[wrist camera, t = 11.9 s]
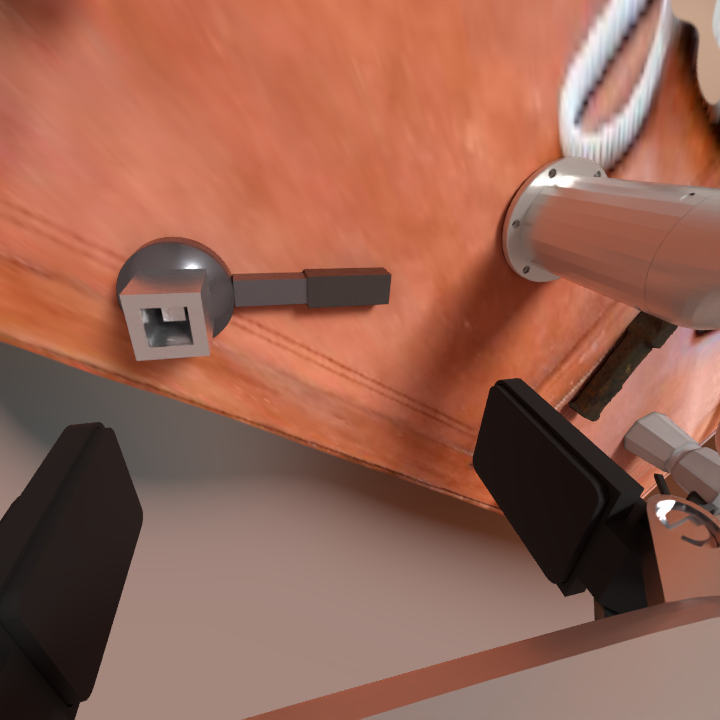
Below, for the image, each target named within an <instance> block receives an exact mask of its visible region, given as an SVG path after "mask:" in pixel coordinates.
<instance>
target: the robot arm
mask: <svg viewBox="0 0 720 720" xmlns="http://www.w3.org/2000/svg"><path fill="white" fill-rule="evenodd" d="M502 243H503V251H504V255H505V258H506V260H507V262H508V264H509V266H510V267H511V268H512V270H513V271H514V272H515V273H517V274H518V275H520V276H521V277H523V278H525V279H528V280H530V281H534V282H549V281H553V280H557V279H559V278H564V279H566V280H569V281H571V282H573V283H576V284H578V285H580V286H583V287H585V288H588V289H590V290H592V291H595V292H597V293H600V294H602V295H604V296H607V297H609V298H611V299H614V300H616V301H619V302H621V303H623V304H626V305H628V306H631V307H633V308H635V309H638V310H640V311H642V312H645V313H647V314H650V315H652V316H655V317H657V318H659V319H662V320H664V321H667V322H669V323H672V324H674V325H677V326H680V327H685V328H690V329H699V330H712V329H720V189H718V188H708V187H697V186H687V185H676V184H666V183H655V182H645V181H635V180H624V179H614V178H608V177H607V175H606V174H605V172H604V170H603V169H602V168H601V167H600V166H599V165H598V164H597V163H595V162H593V161H592V160H590V159H586V158H581V157H566V158H560V159H557V160H554V161H552V162H550V163H547V164H546V165H544V166H543V167H541V168H540V169H538V170H537V171H536V172H535V173H534V174H532V175H531V176H530V177H529V178H528V179H527V180H526V182H525V183H524V184H523V185H522V186H521V188H520V189H519V190H518V192H517V194H516V195H515V197H514V199H513V200H512V202H511V205H510V207H509V209H508V212H507V214H506V218H505V222H504V225H503V234H502ZM715 443H716V448H717V451H718V454H719V456H720V422H719V424H718V427H717V430H716V436H715ZM473 466H474V469H475V471H476V473H477V474H478V476H479V477H480V479H481V480H482V482H483V483H484V485H485V486H486V488H487V489H488V491H489V492H490V494H491V495H492V497H493V498H494V500H495V501H496V503H497V504H498V506H499V507H500V509H501V510H502V512H503V513H504V515H505V516H506V517H507V519H508V520H509V522H510V523H511V525H512V526H513V528H514V529H515V531H516V532H517V534H518V535H519V537H520V538H521V540H522V541H523V543H524V544H525V546H526V547H527V549H528V550H529V552H530V553H531V555H532V556H533V558H534V559H535V561H536V562H537V564H538V565H539V567H540V568H541V570H542V571H543V573H544V574H545V576H546V577H547V578H548V580H550V581H551V582H552V583H554V584H557V586H558V587H559V589H560V590H561V592H562V593H563V595H564V596H565V597H566V596H570V595H573V594H578V593H582V592H584V591H585V590H586V588H587V589H588V590H589V592H590V593H591V594H592V596H593V597H594V616H595V621H592V622H588V623H584V624H581V625H577V626H573V627H570V628H566V629H563V630H559V631H555V632H552V633H548V634H544V635H541V636H537V637H533V638H530V639H526V640H522V641H519V642H515V643H511V644H508V645H504V646H501V647H497V648H493V649H490V650H486V651H483V652H479V653H475V654H472V655H468V656H465V657H461V658H458V659H454V660H451V661H447V662H443V663H440V664H436V665H433V666H430V667H426V668H422V669H418V670H415V671H411V672H408V673H404V674H401V675H397V676H394V677H390V678H386V679H383V680H380V681H376V682H373V683H369V684H365V685H362V686H358V687H355V688H351V689H347V690H344V691H340V692H337V693H333V694H330V695H326V696H323V697H319V698H316V699H312V700H309V701H305V702H302V703H298V704H295V705H291V706H288V707H284V708H281V709H278V710H274V711H271V712H267V713H264V714H260V715H257V716H253V717H249V718H246V719H243V720H720V520H719V519H718V518H716V517H715V516H714V515H712V514H711V513H710V512H708V511H707V510H705V509H704V508H702V507H700V506H698V505H697V504H695V503H693V502H690V501H688V500H685V499H683V498H680V497H676V496H672V495H655V496H652V497H650V499H649V500H648V501H647V502H645V501H644V500H643V499H642V498H641V497H640V495H641V494H642V492H643V490H644V488H643V487H642V486H641V485H640V484H639V483H637V482H636V481H635V480H634V479H633V478H632V477H631V476H630V475H628V474H627V473H626V472H625V471H624V470H623V469H622V468H621V467H619V466H618V465H617V464H616V463H615V462H614V461H613V460H612V459H610V458H609V457H608V456H607V455H606V454H605V453H604V452H603V451H601V450H600V449H599V448H598V447H597V446H596V445H595V444H594V443H592V442H591V441H590V440H589V439H588V438H587V437H586V436H585V435H583V434H582V433H581V432H580V431H579V430H578V429H577V428H576V427H574V426H573V425H572V424H571V423H570V422H569V421H568V420H567V419H565V418H564V417H563V416H562V415H561V414H560V413H559V412H558V411H556V410H555V409H554V408H553V407H552V406H551V405H550V404H549V403H547V402H546V401H545V400H544V399H543V398H542V397H541V396H540V395H538V394H537V393H536V392H535V391H534V390H533V389H532V388H531V387H529V386H528V385H527V384H526V383H525V382H524V381H523V380H521V379H519V378H514V379H505V380H499V381H497V382H496V383H495V385H494V386H492V387H491V388H490V391H489V395H488V399H487V403H486V407H485V411H484V415H483V419H482V423H481V427H480V431H479V435H478V439H477V443H476V447H475V451H474V455H473ZM142 522H143V512H142V507H141V505H140V502H139V499H138V496H137V494H136V491H135V488H134V485H133V483H132V480H131V477H130V474H129V471H128V469H127V466H126V463H125V460H124V458H123V455H122V452H121V449H120V447H119V444H118V441H117V438H116V435H115V433H114V431H113V429H112V428H105V427H104V425H103V424H102V423H100V422H95V423H85V424H77V425H70V426H68V427H66V428H65V429H64V431H63V432H62V434H61V435H60V437H59V438H58V440H57V441H56V443H55V444H54V446H53V447H52V449H51V450H50V452H49V453H48V455H47V456H46V458H45V459H44V461H43V462H42V464H41V465H40V467H39V468H38V470H37V471H36V473H35V474H34V476H33V477H32V479H31V480H30V482H29V483H28V485H27V486H26V488H25V489H24V491H23V492H22V494H21V495H20V496H19V497H18V498H17V499H16V500H15V501H14V502H13V503H12V504H11V506H10V507H9V509H8V510H7V512H6V513H5V515H4V516H3V518H2V519H1V521H0V720H74V719H75V716H76V713H77V710H78V707H79V704H80V702H83V701H86V700H87V699H88V698H89V696H90V695H91V693H92V690H93V687H94V684H95V681H96V678H97V674H98V671H99V667H100V664H101V661H102V658H103V654H104V651H105V647H106V644H107V641H108V637H109V634H110V630H111V627H112V624H113V620H114V617H115V614H116V611H117V607H118V604H119V601H120V597H121V594H122V590H123V587H124V584H125V580H126V577H127V573H128V570H129V567H130V564H131V560H132V557H133V554H134V550H135V547H136V543H137V540H138V537H139V533H140V530H141V526H142Z"/></svg>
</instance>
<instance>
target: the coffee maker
mask: <svg viewBox="0 0 720 720" xmlns="http://www.w3.org/2000/svg"><path fill="white" fill-rule="evenodd" d="M624 448H625V449H626V450H628V451H630V452H631V453H633V454H635V455H637V456H638V457H640V458H642V459H643V460H645V461H647V462H648V463H650V464H652V465H654V466H655V467H657V468H659V469H660V470H662V471H664V472H668V473H670V474H671V475H672V477H673V478H674V480H675V482H676V483H677V484H678V485H679V486H681V487H682V488H683V489H684V490H685V491H686V492H687V493H688V494H689V495H688V497H687V498H686V500H688V501H690V502H693V503H695V504H697V505H698V506H700V507H702V508H704V509H705V510H707V511H708V512H710V513H711V514H712V515H714V516H718V515H720V456H719V454H718V452H716V451H713V450H712V449H710V448H707V447H704V448H701V447H700V446H699V444H698V443H697V442H696V441H695V440H694V439H693V438H691V437H690V436H689V435H688V434H687V433H686V432H685V431H683V430H682V429H681V428H680V427H679V426H678V425H676V424H675V423H674V422H673V421H672V420H671V419H670V418H668V417H667V416H666V415H665V414H661V413H657V412H652V413H650V414H649V415H647V416H645V417H643V418H641V419H639V420H637V421H636V422H635V423H634V425H633V426H632V427H631V428H630V430H629V431H628V432H627V433H626V435H625V436H624ZM654 478H655V481H656V483H657V486H658V488H659V491H660V494H661V495H670V492H669V490H668V488H667V485H666V482H665V480H664V477H663V475H660V474H654Z"/></svg>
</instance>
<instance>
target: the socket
mask: <svg viewBox="0 0 720 720" xmlns="http://www.w3.org/2000/svg"><path fill="white" fill-rule="evenodd" d="M119 296H120V300H121V304H122V307H123V311H124V315H125V319H126V323H127V326H128V330H129V334H130V338H131V342H132V345H133V349H134V353H135V357H136V361H143V360H157V359H170V358H184V357H197V356H210V352H211V344H212V337H213V330H214V319H213V311H212V304H211V297H210V290H209V283H208V276H207V269H148V270H139V271H138V272H137V273H136V274H135V276H134V277H133V278H132V280H131V281H130V282H129V283H128V285H127V286H126V287H125V288H124V290H123V291H122V292H121V294H120V295H119ZM167 307H187V309H188V314H189V315H187V319H186V320H183V321H164V320H163V315H162V310H161V308H167Z"/></svg>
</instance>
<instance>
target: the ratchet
mask: <svg viewBox="0 0 720 720" xmlns="http://www.w3.org/2000/svg"><path fill="white" fill-rule="evenodd" d="M148 269H207V276H208V283H209V290H210V297H211V304H212V311H213V319H214V330H213V337H215V336H216V335H218V334H219V333H220V332H221V331H222V330H223V329H224V328H225V327H226V326H227V324H228V322H229V321H230V319H231V316H232V314H233V310H234V302H235V305H236V307H242V306H264V305H286V304H307V306H308V308H319V307H339V306H360V305H380V304H389V294H390V283H391V274H390V273H389V272H388V271H387V270H386V269H384V268H341V269H304V272H301V273H259V274H233V278H232V275H231V273H230V271H229V269H228V267H227V265H226V264H225V262H224V261H223V260H222V259H221V258H220V257H219V256H218V255H217V254H216V253H215V252H214V251H212V250H211V249H210V248H208V247H206V246H205V245H203V244H201V243H199V242H196V241H194V240H190V239H186V238H181V237H165V238H159V239H156V240H153V241H150V242H148V243H146V244H144V245H143V246H142V247H140V248H139V249H138V250H137V251H136V252H135V253H134V254H133V255H132V256H131V257H130V258H129V259H128V260H127V261H126V263H125V264H124V265H123V267H122V269H121V271H120V273H119V276H118V279H117V286H116V288H117V298H118V302H119V305H120V307H121V309H122V311H123V307H122V304H121V300H120V296H119V295H120V294H121V292H122V291H123V290H124V288H125V287H126V286H127V285H128V283H129V282H130V281H131V280H132V278H133V277H134V276H135V274H136V273H137V272H138V271H139V270H148ZM161 310H162V315H163V320H164V321H183V320H186V319H187V315H189V314H188V309H187V307H167V308H161ZM123 313H124V311H123ZM213 337H212V338H213Z"/></svg>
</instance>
